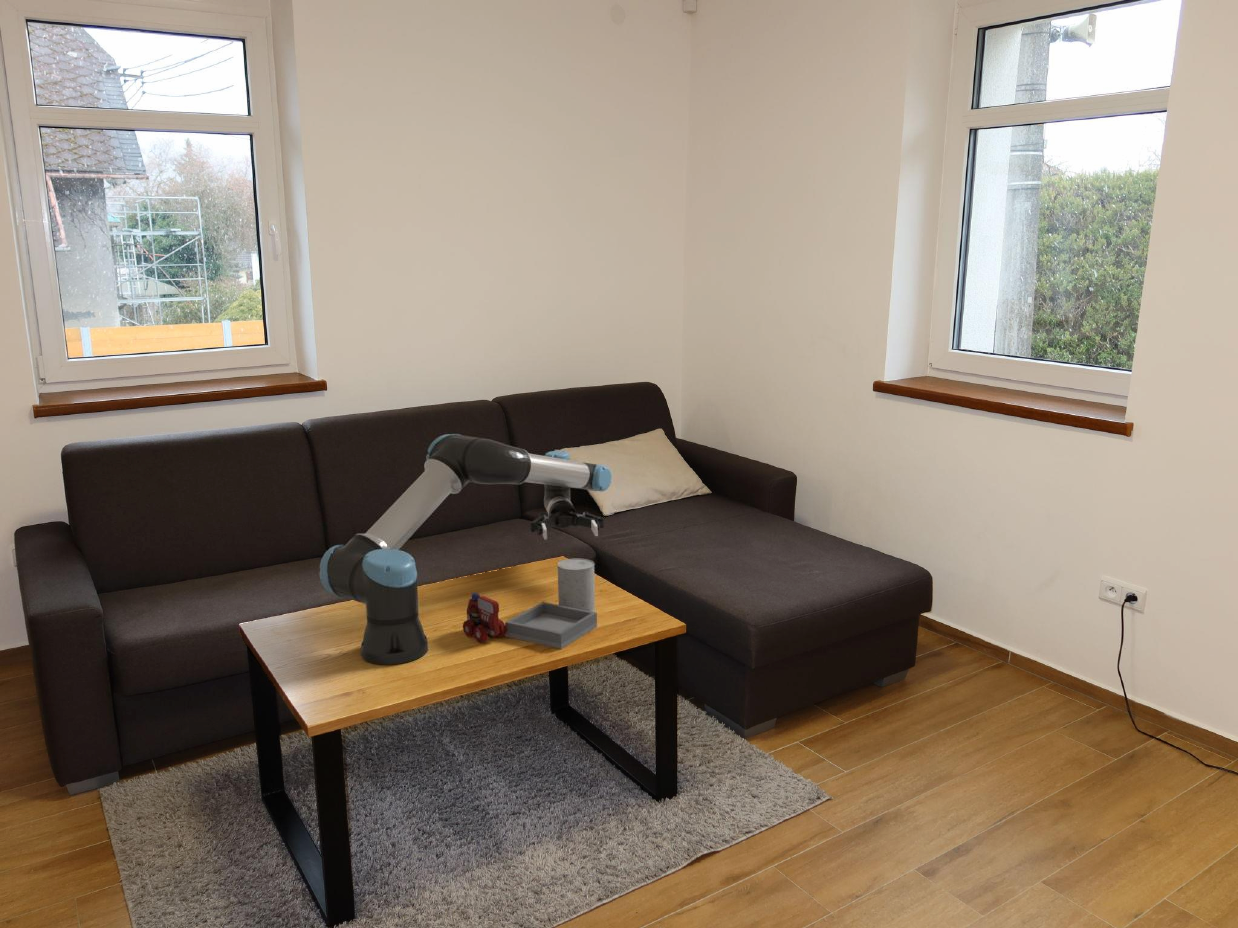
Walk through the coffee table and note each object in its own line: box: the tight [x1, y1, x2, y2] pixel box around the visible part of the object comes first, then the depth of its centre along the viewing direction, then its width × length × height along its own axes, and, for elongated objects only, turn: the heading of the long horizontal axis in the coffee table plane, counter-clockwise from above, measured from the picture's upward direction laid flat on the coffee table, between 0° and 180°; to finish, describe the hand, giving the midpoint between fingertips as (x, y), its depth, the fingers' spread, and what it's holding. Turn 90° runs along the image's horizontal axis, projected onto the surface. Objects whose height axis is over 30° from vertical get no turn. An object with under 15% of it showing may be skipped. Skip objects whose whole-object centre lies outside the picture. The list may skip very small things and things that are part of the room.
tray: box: [504, 601, 598, 650], centre depth 236 cm, size 16×16×4 cm
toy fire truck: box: [462, 592, 506, 644], centre depth 233 cm, size 7×12×10 cm, turn 40°
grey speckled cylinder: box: [556, 558, 596, 612], centre depth 250 cm, size 10×10×12 cm
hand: (571, 532), depth 258 cm, fingers open, 13 cm apart
